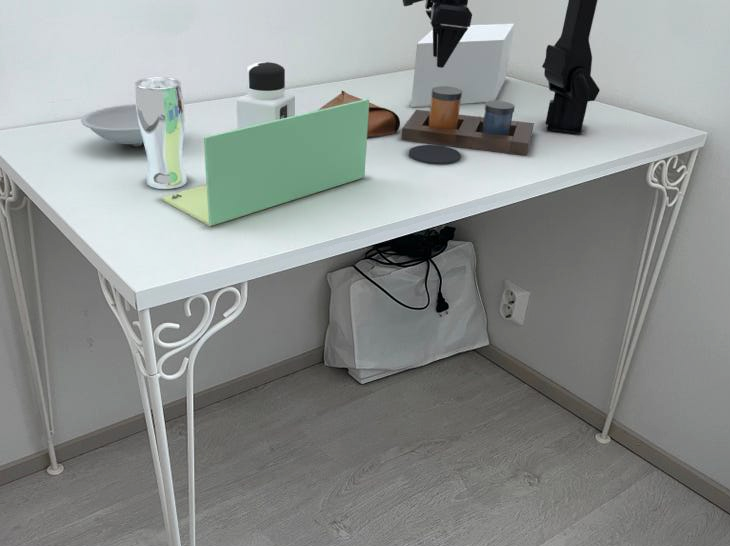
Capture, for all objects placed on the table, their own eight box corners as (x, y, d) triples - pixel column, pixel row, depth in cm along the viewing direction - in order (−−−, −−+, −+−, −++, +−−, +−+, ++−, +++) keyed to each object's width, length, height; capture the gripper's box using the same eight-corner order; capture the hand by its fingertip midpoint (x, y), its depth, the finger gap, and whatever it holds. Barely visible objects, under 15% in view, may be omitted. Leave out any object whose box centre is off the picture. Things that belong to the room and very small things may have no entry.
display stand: (211, 226, 103) (205, 138, 96) (162, 199, 110) (153, 115, 103) (364, 178, 120) (369, 99, 113) (313, 157, 127) (314, 82, 120)
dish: (100, 165, 121) (96, 135, 118) (74, 140, 131) (69, 111, 128) (200, 149, 129) (198, 120, 126) (168, 126, 139) (166, 99, 136)
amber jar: (458, 131, 142) (464, 88, 137) (454, 140, 137) (460, 95, 133) (429, 128, 143) (434, 85, 139) (424, 136, 139) (429, 92, 134)
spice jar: (509, 138, 139) (516, 102, 136) (507, 146, 135) (513, 110, 132) (482, 134, 141) (487, 99, 137) (478, 142, 136) (483, 106, 133)
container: (295, 137, 136) (296, 62, 129) (275, 149, 130) (275, 72, 123) (258, 131, 138) (256, 57, 131) (237, 142, 133) (234, 66, 125)
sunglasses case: (309, 111, 148) (323, 79, 146) (332, 125, 153) (347, 94, 151) (365, 137, 136) (382, 102, 134) (389, 150, 141) (406, 117, 139)
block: (379, 98, 160) (383, 36, 153) (474, 73, 180) (482, 17, 173) (444, 116, 150) (452, 51, 143) (537, 87, 170) (548, 29, 163)
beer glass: (180, 192, 113) (171, 90, 104) (137, 188, 114) (125, 86, 105) (195, 176, 118) (189, 78, 110) (154, 172, 119) (144, 75, 111)
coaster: (464, 150, 133) (464, 148, 132) (456, 167, 125) (456, 164, 125) (414, 144, 135) (414, 142, 134) (403, 160, 128) (404, 158, 127)
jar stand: (532, 134, 141) (534, 122, 140) (526, 155, 131) (529, 143, 130) (415, 120, 147) (416, 109, 145) (401, 139, 137) (402, 128, 135)
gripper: (404, -49, 130) (391, 46, 138) (409, -40, 114) (393, 67, 122) (468, -41, 130) (450, 53, 138) (481, -31, 114) (460, 75, 123)
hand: (437, 61), depth 130 cm, fingers open, 9 cm apart
